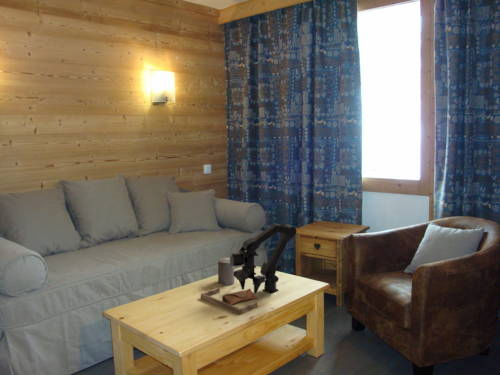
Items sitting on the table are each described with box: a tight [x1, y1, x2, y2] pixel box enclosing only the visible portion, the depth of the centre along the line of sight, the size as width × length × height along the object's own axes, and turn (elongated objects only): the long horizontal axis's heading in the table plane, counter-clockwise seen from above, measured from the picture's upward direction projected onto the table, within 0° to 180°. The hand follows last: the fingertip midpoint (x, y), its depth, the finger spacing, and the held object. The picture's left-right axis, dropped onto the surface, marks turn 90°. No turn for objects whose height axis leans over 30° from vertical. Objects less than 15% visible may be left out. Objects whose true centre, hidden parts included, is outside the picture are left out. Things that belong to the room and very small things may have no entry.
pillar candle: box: [217, 257, 236, 286], centre depth 266 cm, size 10×10×15 cm
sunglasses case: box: [221, 288, 259, 306], centre depth 242 cm, size 18×7×7 cm, turn 125°
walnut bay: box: [200, 287, 258, 315], centre depth 238 cm, size 13×29×2 cm, turn 47°
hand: (249, 291), depth 249 cm, fingers open, 9 cm apart
